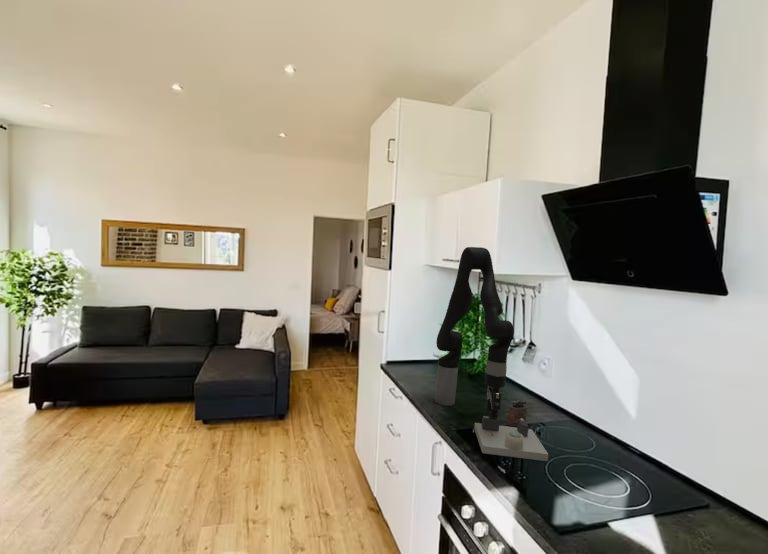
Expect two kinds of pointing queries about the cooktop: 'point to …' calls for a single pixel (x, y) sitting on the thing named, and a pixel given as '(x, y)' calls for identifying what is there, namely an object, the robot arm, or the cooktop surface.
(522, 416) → the lighter
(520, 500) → the cooktop surface
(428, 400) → the cooktop surface
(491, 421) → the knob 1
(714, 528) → the cooktop surface
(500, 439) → the base plate
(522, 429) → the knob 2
